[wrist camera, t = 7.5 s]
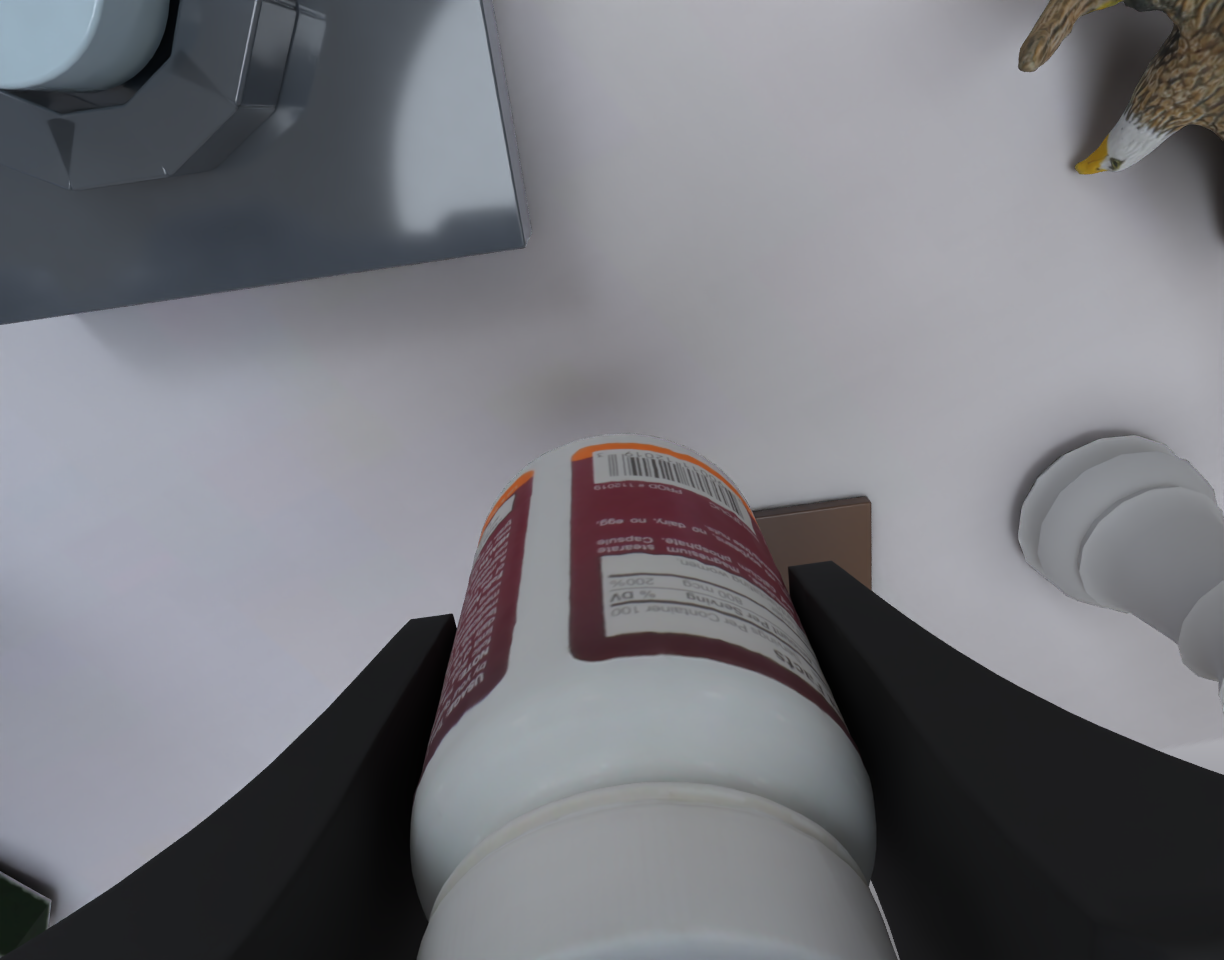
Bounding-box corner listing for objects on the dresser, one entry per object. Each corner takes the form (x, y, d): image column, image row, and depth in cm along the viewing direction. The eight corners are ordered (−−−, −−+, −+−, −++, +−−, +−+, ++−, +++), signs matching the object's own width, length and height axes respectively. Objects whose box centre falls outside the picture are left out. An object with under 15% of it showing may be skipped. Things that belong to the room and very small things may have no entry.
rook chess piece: (1178, 407, 20) (1511, 569, 13) (1179, 554, 22) (1470, 769, 15) (1001, 455, 21) (1226, 639, 13) (1015, 595, 22) (1221, 825, 15)
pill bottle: (568, 710, 15) (550, 1338, 7) (424, 508, 13) (193, 1061, 5) (805, 602, 14) (1068, 1183, 6) (684, 372, 12) (847, 795, 5)
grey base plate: (60, 303, 18) (-70, 348, 15) (-147, -184, 15) (-388, -283, 11) (533, 233, 18) (519, 262, 14) (444, -282, 14) (395, -417, 11)
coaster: (605, 751, 24) (605, 760, 24) (565, 536, 21) (565, 543, 21) (868, 717, 24) (872, 726, 24) (866, 495, 21) (871, 502, 21)
